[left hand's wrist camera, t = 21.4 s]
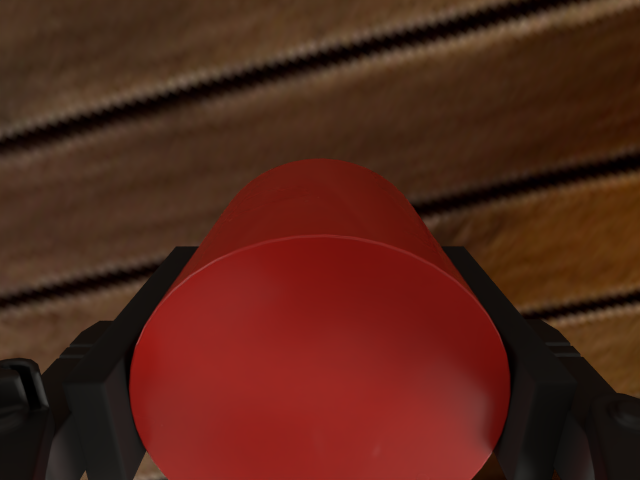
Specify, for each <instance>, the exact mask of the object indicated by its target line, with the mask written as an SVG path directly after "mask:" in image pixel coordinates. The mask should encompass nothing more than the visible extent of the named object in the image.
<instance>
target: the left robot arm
mask: <svg viewBox="0 0 640 480" xmlns="http://www.w3.org/2000/svg"><path fill="white" fill-rule="evenodd" d="M441 248H442V249H443V251H444V252H445V253H446V255H447V256H448V258H449V259H450V260H451V262H452V263H453V265H454V266H455V268H456V269H457V270H458V272H459V273H460V275H461V276H462V277H463V279H464V280H465V282H466V283H467V284H468V286H469V287H470V289H471V290H472V292H473V293H474V294H475V296H476V297H477V299H478V300H479V301H480V303H481V304H482V306H483V307H484V308H485V310H486V311H487V313H488V314H489V316H490V318H491V320H492V321H493V323H494V325H495V327H496V328H497V330H498V332H499V334H500V337H501V339H502V342H503V345H504V348H505V351H506V353H507V358H508V364H509V369H510V386H511V396H510V403H509V409H508V416H507V419H506V422H505V425H504V428H503V431H502V434H501V436H500V438H499V440H498V442H497V444H496V446H495V448H494V450H493V451H494V453H495V455H496V457H497V460H498V462H499V464H500V466H501V468H502V470H503V472H504V475H505V477H506V479H507V480H551V479H552V475H553V472H554V468H555V470H556V472H557V473H558V475H559V477H560V478H561V480H640V399H638V398H635V397H632V396H629V395H626V394H621V393H616V392H615V391H614V390H613V388H612V387H611V386H610V385H609V384H608V383H607V382H606V381H605V380H604V379H603V378H602V377H601V376H600V375H599V374H598V372H597V371H596V370H595V369H594V368H593V367H592V366H591V365H590V364H589V363H588V362H587V361H586V360H585V359H584V357H581V356H580V353H579V352H578V351H577V350H576V349H575V348H574V347H573V346H571V345H570V343H569V341H568V340H567V339H566V338H565V337H564V336H563V335H562V334H561V333H560V332H559V331H558V330H557V329H555V328H553V327H552V326H550V325H548V324H547V323H545V322H543V321H542V320H540V319H524V318H523V317H522V315H521V314H520V313H519V312H518V311H517V310H516V308H515V307H514V306H513V305H512V304H511V302H510V301H509V300H508V299H507V298H506V296H505V295H504V294H503V293H502V292H501V291H500V289H499V288H498V287H497V286H496V285H495V283H494V282H493V281H492V280H491V279H490V277H489V276H488V275H487V274H486V273H485V271H484V270H483V269H482V268H481V267H480V266H479V264H478V263H477V262H476V261H475V260H474V258H473V257H472V256H471V255H470V254H469V252H468V251H467V250H466V249H465V248H464V247H441ZM197 249H198V247H175V249H174V250H173V251H172V252H171V253H170V254H169V256H168V257H167V258H166V259H165V260H164V262H163V263H162V264H161V265H160V266H159V268H158V269H157V270H156V271H155V272H154V273H153V275H152V276H151V277H150V278H149V279H148V281H147V282H146V283H145V284H144V285H143V287H142V288H141V289H140V290H139V291H138V293H137V294H136V295H135V296H134V297H133V298H132V300H131V301H130V302H129V303H128V304H127V306H126V307H125V308H124V309H123V310H122V312H121V313H120V314H119V315H118V316H117V317H116V319H115V320H114V321H99V322H97V323H96V324H94V325H92V326H91V327H89V328H87V329H86V330H84V331H82V332H81V333H80V334H79V335H78V336H77V338H76V339H75V340H74V341H73V342H72V343H71V344H70V347H67V348H66V349H65V350H64V352H63V353H62V354H61V355H60V358H59V359H56V360H55V361H54V362H53V363H52V364H51V366H50V367H49V368H48V369H47V370H46V371H45V372H44V373H43V374H42V375H41V373H40V370H39V366H38V364H37V363H36V362H34V361H33V360H31V359H24V358H14V359H5V360H1V361H0V480H80V478H81V477H82V475H83V473H84V472H85V470H86V473H87V477H88V480H133V478H134V476H135V474H136V472H137V470H138V468H139V465H140V463H141V461H142V459H143V457H144V455H145V452H146V449H145V447H144V445H143V443H142V441H141V439H140V436H139V434H138V432H137V429H136V427H135V423H134V419H133V415H132V412H131V407H130V396H129V377H130V365H131V361H132V357H133V353H134V349H135V346H136V343H137V341H138V339H139V336H140V334H141V332H142V330H143V327H144V325H145V324H146V322H147V321H148V319H149V317H150V316H151V314H152V313H153V311H154V310H155V308H156V307H157V305H158V304H159V302H160V301H161V300H162V298H163V297H164V295H165V294H166V293H167V291H168V290H169V288H170V287H171V285H172V284H173V283H174V281H175V280H176V278H177V277H178V276H179V274H180V273H181V271H182V270H183V269H184V267H185V266H186V264H187V263H188V262H189V260H190V259H191V257H192V256H193V254H194V253H195V252H196V250H197Z"/></svg>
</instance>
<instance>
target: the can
mask: <svg viewBox="0 0 640 480" xmlns="http://www.w3.org/2000/svg"><path fill="white" fill-rule="evenodd" d="M129 396H130V407H131V412H132V415H133V419H134V423H135V427H136V429H137V432H138V434H139V436H140V439H141V441H142V443H143V445H144V447H145V449H146V450H147V452H148V454H149V455H150V457H151V459H152V460H153V462H154V463H155V464H156V465H157V467H158V468H159V469H160V470H161V472H162V473H163V474H164V475H165V476H166V478H167V479H168V480H471V479H472V478H473V477H474V476H475V475H476V474H477V472H478V471H479V470H480V469H481V468H482V467H483V465H484V464H485V462H486V461H487V459H488V458H489V456H490V455H491V453H492V452H493V450H494V448H495V446H496V444H497V442H498V440H499V438H500V436H501V434H502V431H503V428H504V425H505V422H506V419H507V416H508V409H509V403H510V396H511V386H510V369H509V364H508V358H507V353H506V351H505V348H504V345H503V342H502V339H501V337H500V334H499V332H498V330H497V328H496V327H495V325H494V323H493V321H492V320H491V318H490V316H489V314H488V313H487V311H486V310H485V308H484V307H483V306H482V304H481V303H480V301H479V300H478V299H477V297H476V296H475V294H474V293H473V292H472V290H471V289H470V287H469V286H468V284H467V283H466V282H465V280H464V279H463V277H462V276H461V275H460V273H459V272H458V270H457V269H456V268H455V266H454V265H453V263H452V262H451V260H450V259H449V258H448V256H447V255H446V253H445V252H444V251H443V249H442V248H441V246H440V245H439V243H438V242H437V241H436V239H435V238H434V236H433V235H432V234H431V232H430V231H429V229H428V228H427V227H426V225H425V224H424V222H423V221H422V219H421V218H420V217H419V215H418V214H417V212H416V211H415V210H414V208H413V207H412V205H411V204H410V203H409V202H408V200H407V199H406V198H405V196H404V195H403V194H402V193H401V192H400V191H399V190H398V189H397V188H396V187H395V186H394V185H393V184H391V183H390V182H389V181H387V180H386V179H384V178H383V177H382V176H380V175H378V174H377V173H375V172H373V171H371V170H369V169H367V168H364V167H362V166H359V165H356V164H354V163H350V162H345V161H341V160H334V159H305V160H300V161H294V162H290V163H287V164H284V165H280V166H277V167H275V168H273V169H271V170H269V171H267V172H265V173H263V174H261V175H260V176H258V177H257V178H255V179H254V180H252V181H251V182H250V183H249V184H247V185H246V186H245V187H244V188H243V189H242V190H241V191H240V192H239V193H238V194H237V195H236V196H235V197H234V199H233V200H232V201H231V202H230V204H229V205H228V206H227V208H226V209H225V211H224V212H223V214H222V215H221V216H220V218H219V219H218V221H217V222H216V223H215V225H214V226H213V228H212V229H211V230H210V232H209V233H208V235H207V236H206V238H205V239H204V240H203V242H202V243H201V245H200V246H199V247H198V249H197V250H196V252H195V253H194V254H193V256H192V257H191V259H190V260H189V262H188V263H187V264H186V266H185V267H184V269H183V270H182V271H181V273H180V274H179V276H178V277H177V278H176V280H175V281H174V283H173V284H172V285H171V287H170V288H169V290H168V291H167V293H166V294H165V295H164V297H163V298H162V300H161V301H160V302H159V304H158V305H157V307H156V308H155V310H154V311H153V313H152V314H151V316H150V317H149V319H148V321H147V322H146V324H145V325H144V327H143V330H142V332H141V334H140V336H139V339H138V341H137V343H136V346H135V349H134V353H133V357H132V361H131V365H130V377H129Z"/></svg>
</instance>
